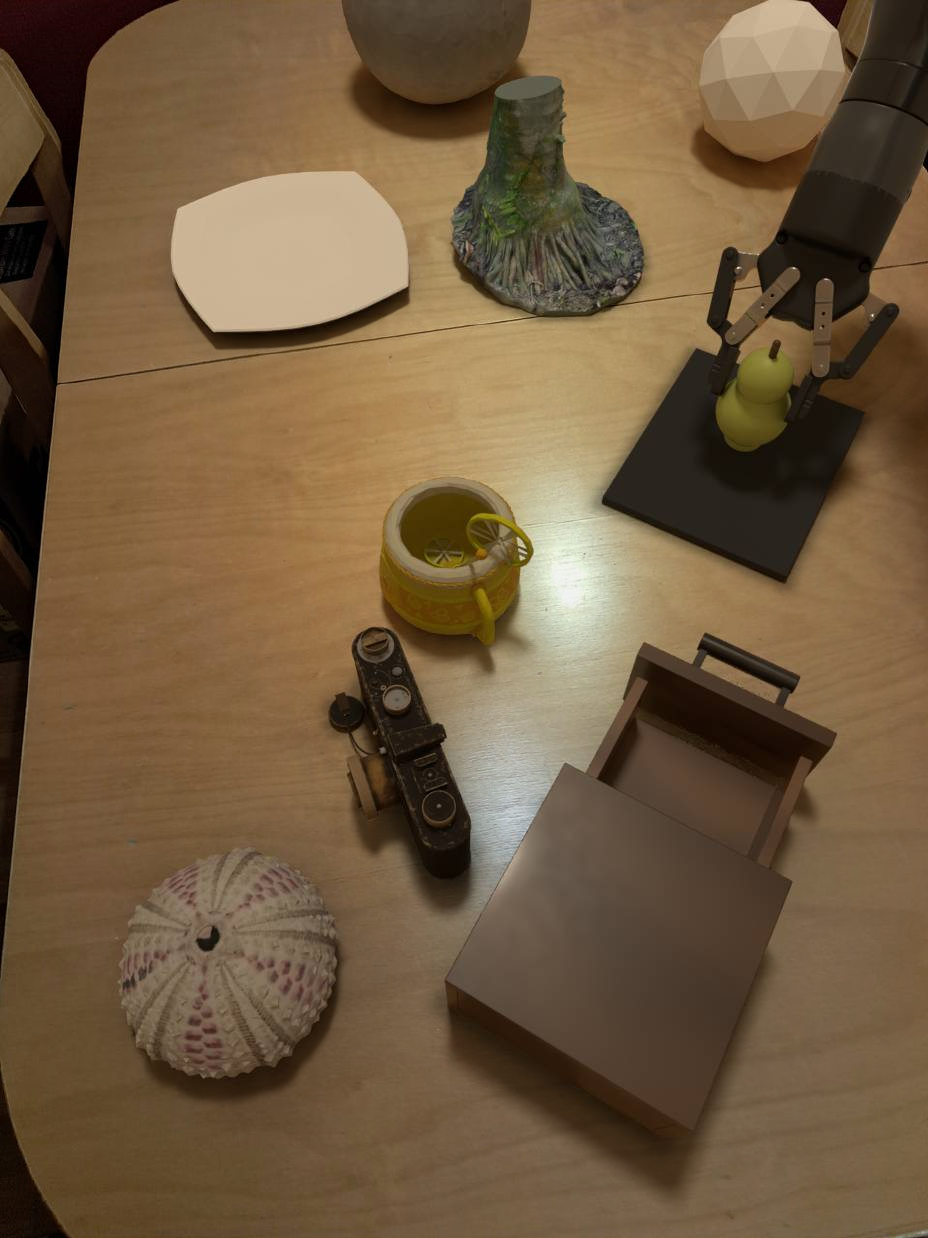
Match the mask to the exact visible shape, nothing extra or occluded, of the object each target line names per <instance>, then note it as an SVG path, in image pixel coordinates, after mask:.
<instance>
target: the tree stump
mask: <svg viewBox="0 0 928 1238" xmlns="http://www.w3.org/2000/svg"><path fill="white" fill-rule="evenodd" d="M562 83H563V81H562V78H559V77H557V76H554V75H532V76H526V77H521V78H517V79H514V80H511V81H508V82H505V83H503V84H500V85H499V86H498V87H497V88H496V89H495V91H494V96H493V97H494V99H493V107H492V110H491V117H490V118H489V120H490V121H489V122H490V123H489V126H488V135H487V136H488V137H487V141H486V154H485V155H486V156H485V160H484V161H485V162H484V164H483V165H484V166H483V167H482V169H481V170H480V172H479V174H478V175H477V178H476V180H475V181H474V183H473V184H471V185H469V186H468V187H467V188H466V189H465V191H464V194H463V196H462V199H461V200H460V201H459V202H458V204H457V206H456V207H454V208H453V209H452V212H453V215H452V217H450V222H451V225H452V227H453V231H452V233H451V239H452V240H453V241H452V245H453V247H454V250H456V252H457V253H458V255H459V259H458V261H460V262H461V264H462V265H463V266H464V267H466V268H467V270H468V271H470V273H471V274H472V275H473V276H474V278H475V279H476V281H477V282H478V283H479V284H480V285H481V286H482V287H483V288H485V289H486V290H487V291H488V292H489V293H491V294H492V296H494V297H495V298H497V300H499V301H500V302H501V303H502V304H505V305H509V306H512V307H517V308H520V309H522V310H524V311H526V312H528V313H531V314H535V315H537V316H539V317H560V316H561V317H563V316H565V317H566V316H588V315H591V314H594V313H595V312H597V311H600V310H602V309H605V308H606V307H608V306H611V305H613V304H616V303H618V302H620V301H621V300H623V299H624V298H625V297H626V296H627V295H628V294H629V293H630V292H631V291H632V290H633V289H634V288H635V287H636V285H637V283H638V281H639V280H640V278H641V275H642V273H643V268H644V262H645V250H644V246H643V243H642V241H641V237H640V233H639V229H638V228H637V226H636V223H635V221H634V219H632V218H631V215H630V214H629V212H628V210H627V209H625V208H624V207H622V205H621V204H620V203H619V202H617V201H616V200H613V199H611V198H609V197H606V196H603V195H602V194H601V193H600V192H599V191H598V190H597V189H594V188H593V187H591V186H590V185H589V184H587V183H584V182H579V181H575V180H574V178H573V177H572V175H571V174H570V173H569V171H568V170H567V167H566V160H565V157H564V143H565V142H567V139H566V137H565V134H563V126H564V122H563V120H564V119H565V118H566V117H567V116H568V115H567V112H566V111H565V110H564V106H563V102H564V101H565V98H564V94H565V89H564V88H563V86H562Z"/></svg>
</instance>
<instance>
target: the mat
mask: <svg viewBox="0 0 928 1238" xmlns="http://www.w3.org/2000/svg"><path fill="white" fill-rule="evenodd" d="M716 356H717V354H714V353H712V352H708V351H705V350H703V349H700V348H698V347H696V348H695V349H694V351H693V352H692V354H691V355H690V357H689V359H688V360H687V361H686V363H685V365H684V366H683V368H682V370H681V371H680V373H679V374H678V376H677V377H676V379H675V381H674V382H673V384H672V386H671V388H670V389H669V390H668V392H667V393H666V395H665V396H664V397H663V400H662V402H661V403H660V405H659V407H658V408H657V409H656V411H655V413H654V414H653V416H652V417H651V419H650V421H649V422H648V424H647V425H646V427H645V428H644V430H643V432H642V434H641V435H640V436H639V438H638V440H637V441H636V443H635V445H634V446H633V448H632V449H631V451H630V453H629V454H628V455H627V457H626V459H625V461H624V462H623V464H622V465H621V467H620V468H619V469H618V472H617V473H616V475H615V476H614V478H613V480H612V481H611V483H610V484H609V486H608V487H607V489H606V491H605V492H604V493H603V495H602V498H601V503H602V504H604V505H607V506H609V507H610V508H611V507H612V508H613V509H617V510H618V511H621V512H622V513H626V514H627V515H630V516H632V517H635V518H637V519H639V520H641V521H642V522H643V521H644V522H646V523H648V524H651V525H653V526H655V527H658V528H659V529H662V530H664V531H666V532H668V533H671V534H673V535H675V536H678V537H680V538H683V539H684V540H687V541H689V542H692V543H694V544H696V545H699V546H701V547H703V548H706V549H707V550H710V551H711V552H715V553H716V554H719V555H721V556H723V557H726V558H728V559H731V560H733V561H734V562H738V563H740V564H741V565H744V566H747V567H749V568H752V569H754V570H756V571H758V572H760V573H763V574H765V575H767V576H769V577H772V578H774V579H776V580H779V581H780V582H785V581H786V579H787V577H788V575H789V574H790V571H791V569H792V567H793V565H794V562H795V561H796V558H797V556H798V554H799V552H800V550H801V548H802V545H803V544H804V542H805V540H806V539H807V538H806V537H807V536H808V534H809V531H810V529H811V527H812V525H813V523H814V521H815V520H816V519H815V518H816V517H817V514H818V512H819V510H820V508H821V506H822V504H823V502H824V500H825V498H826V496H827V494H828V491H829V489H830V487H831V485H832V483H833V482H834V479H835V477H836V475H837V472H838V470H839V468H840V466H841V464H842V462H843V460H844V458H845V456H846V454H847V452H848V449H849V447H850V445H851V444H852V441H853V439H854V437H855V435H856V433H857V430H858V428H859V426H860V424H861V422H862V420H863V418H864V416H865V413H866V412H865V411H864V410H861V409H859V408H856V407H853V406H851V405H849V404H845V403H842V402H840V401H838V400H835V399H832V398H829V397H827V396H824V395H822V394H819V393H818V394H817V397H816V399H815V401H814V403H813V405H812V407H811V409H810V411H809V413H808V415H807V416H806V417H805V418H804V419H803V420H801V419H798V418H796V419H795V421H794V423H793V425H791V424H789V423H787V425H786V427H785V429H784V430H783V431H782V432H781V433H780V435H778V436H777V437H776V438H775V439H773V440H772V441H770V442H768V443H766V444H763V445H760V446H759V447H758V448H757V449H755V450H753V451H747V452H745V451H739V450H736V449H734V448H732V447H731V446H729V445H728V444H727V442H726V441H725V438H724V434H723V432H722V431H721V429H720V428H719V425H718V423H717V419H716V404H717V400H718V398H719V396H718V395H715V394H713V393H711V392H710V391H711V388H712V386H713V385H712V384H709V383H708V374H709V372H710V370H711V368H712V365H713V363H714V361H715V359H716ZM740 364H741V363H737V362H736V364H735V366H734V368H733V371H732V373H731V375H730V377H729V380H728V382H727V384H728V383H729V382H730V381H732V380H733V379H734V378H736V377H737V372H738V368H739V366H740ZM727 384H726V385H727ZM799 387H800V386H799V385H795V384H793V383H792V386H791V388H790V390H789V391H788V393H789V396H790V399H791V404H792V402H793V400H794V397H795V395H796V393H797V391H798V389H799Z"/></svg>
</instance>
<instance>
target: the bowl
mask: <svg viewBox="0 0 928 1238" xmlns="http://www.w3.org/2000/svg"><path fill="white" fill-rule="evenodd" d="M341 6H342V12H343V16H344V20H345V23H346V27H347V31H348V33H349V36H350V39H351V41H352V44H353V47H354V48H355V50H356V52H357V54H358V56H359V58H360V60H361V62H362V63H363V64H364V65H365V67H366V69H368V70H369V73H371V74H372V75H373V77H375V78H376V79H377V80H378V81H379V82H380V83H381V84H382V85H383V86H384V87H385V88H387V89H388V90H389V91H391V92H393V93H394V94H397V95H398V96H401V97H403V98H404V99H407V100H409V101H411V102H415V103H418V104H424V105H425V104H427V105H441V104H442V105H443V104H449V103H456V102H457V101H461V100H467V99H470V98H472V97H474V96H476V95H478V94H480V93H482V92H484V91H486V90H488V89H489V88H491V87H492V86H493V85H494V84H496V83H497V82H498V81H500V80H501V79H502V78H503V77H505V76H506V74H508V73H509V71H510V70H511V68H512V66H513V65H514V64H515V62H516V61H517V59H518V58H519V56H520V54H521V52H522V51H523V48H524V45H525V42H526V38H527V36H528V31H529V27H530V26H529V25H530V20H531V13H532V0H341Z"/></svg>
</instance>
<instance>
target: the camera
mask: <svg viewBox="0 0 928 1238" xmlns="http://www.w3.org/2000/svg"><path fill="white" fill-rule="evenodd" d="M350 651H351V654H352V655H351V656H352V658H353V661H354V666H355V669H356V674H357V678H358V683H359V688H360V695H361V700H359V699H358V698H357V697H355V696H352V695H347V694H346V692H345V691H342V692H341V693H338V694H335V695H334V697H335V699H334V700H333V701H332V702H331V703H330V705H329V707H328V712H327V713H328V718H329V721H330V722H331V723H332V724H333V725H334V726H336V727H337V728H338V729H342V730H348V733H349V735H350V738H351V740H352V742H353V744H354V745H355V747H356V748H357V749H358V750H359V751H360V752H361V753H363V754H364V755H365V756H363V757H360V756H359V754H357V753H356V754H353V755H350V756H347V757H346V758H345V759H346V763H347V767H348V769H349V772H346V776H347V779H348V782H349V785H350V789H351V791H352V795H353V798H354V801H355V803H356V806H357V809H358V810H359V809H362V812H363V814H364V817H365V820H366V821H367V822H369V821H372V820H375V819H378V818H379V812H381V811H385V810H388V809H390V808H393V807H395V806H399V805H400V806H401V808H402V811H403V814H404V817H405V819H406V822H407V826H408V827H409V830H410V833H411V835H412V838H413V841H414V844H415V846H416V849H417V852H418V856H419V858H420V860H421V863H422V866H423V868H424V870H425V872H426V873H427V874H428V875H429V876H430V877H432V878H433V879H436V880H440V881H450V880H451V881H452V880H454V879H456V878H459V877H460V876H461V875H463V874H464V873H465V872H466V871H467V869H468V868H469V866H470V863H471V859H472V850H471V832H472V820H471V816H470V814H469V811H468V808H467V806H466V803H465V801H464V799H463V796H462V793H461V791H460V789H459V787H458V784H457V782H456V779H455V777H454V773H453V771H452V769H451V766H450V763H449V761H448V759H447V757H446V754H445V752H444V751H445V750H444V749H443V746H442V743H444V742H445V739H447V738H448V736H447V731H446V729H445V726H444V725H443V723H441V724H440V722H435V723H433V721H432V718H431V717H430V713H429V712H428V709H427V706H426V704H425V701H424V699H423V696H422V694H421V691H420V689H419V687H418V684H417V682H416V679H415V676H414V673H413V672H412V669H411V666H410V664H409V661H408V659H407V656H406V654H405V651H404V649H403V646H402V644H401V641H400V639H399V637H398V635H397V634H396V633H395V632H394V631H393V630H392V629H390V628H388V627H383V626H369V627H368V628H366V629H363V630H362V631H360V632H359V633H357V635H356V636H355V637H354V639H353V641H352V643H351V650H350ZM364 709H365V710H366V712H367V715H368V717H369V721H370V722H371V726H372V728H373V729H372V730H374V731H373V732H372V734H373V736H375V738H376V740H377V743H378V751H376V752H374V753H373V752H372V753H371V752H368V751H365V750H364V749H362V748H361V747H360V746H359V745H358V743H357V742H356V740H355V737H354V736H353V732H352V730H351V729H352V728H354V727H356V726H358V725H359V724H360V722H362V719H363V716H364V712H365V711H364Z"/></svg>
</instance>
